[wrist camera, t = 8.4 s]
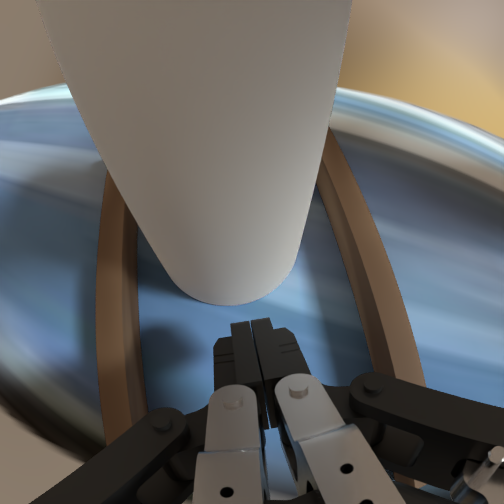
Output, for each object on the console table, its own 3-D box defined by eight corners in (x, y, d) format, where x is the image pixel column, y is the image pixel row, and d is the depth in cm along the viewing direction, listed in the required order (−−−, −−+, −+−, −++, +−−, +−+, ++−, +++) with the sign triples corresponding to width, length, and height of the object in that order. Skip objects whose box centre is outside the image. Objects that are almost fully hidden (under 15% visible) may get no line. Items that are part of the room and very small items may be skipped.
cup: (298, 310, 16) (418, -49, 2) (149, 299, 17) (-38, 24, 2) (297, 188, 20) (331, -68, 6) (175, 184, 20) (115, -54, 6)
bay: (315, 135, 22) (321, 105, 20) (417, 470, 12) (445, 478, 9) (123, 164, 21) (110, 136, 19) (145, 521, 11) (125, 540, 8)
